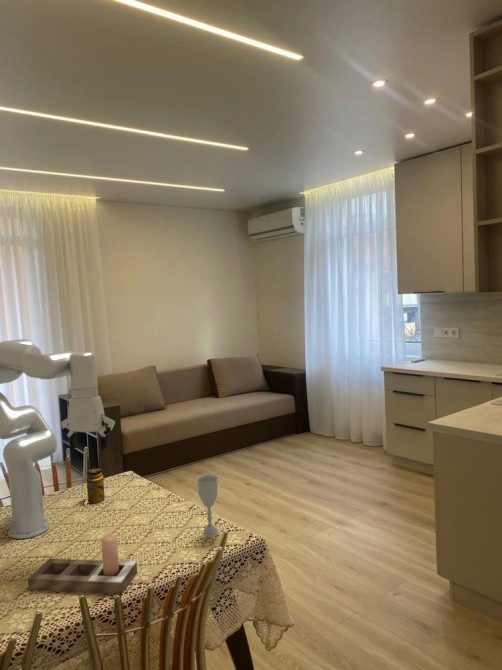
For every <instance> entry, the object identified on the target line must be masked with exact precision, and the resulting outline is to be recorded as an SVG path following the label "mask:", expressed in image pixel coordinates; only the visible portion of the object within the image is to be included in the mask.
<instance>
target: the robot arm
mask: <svg viewBox="0 0 502 670" xmlns="http://www.w3.org/2000/svg"><path fill="white" fill-rule="evenodd" d="M96 360H97V359H96V355H95V353H94V352H91V351H81V352H80V351H73V350H68V351H59V352H53V353H48V354H47V353H44V354H43V353H42V351H41V349H40V348H39V347H38V346H37V345H35V343H34V342H33V341H32V340H29V339H26V338H25V339H24V338H20V339H12V340H3V341H0V385H2V384H7V383H11V382H14V381H15V380H16V381H17V380H18V379H19V378H20V377H21V376H22V375H23V374H25V375H26V376H27V377H29V378H34V379H40V380H54V379H58V378H62V377H63V378H64V377H68V376H70V386H71V388H70V389H68V390H67V394H68V395H71V398H69V401H68V407H67V409H68V410H67V418H65V419H64V420H61V421H60V423H59V425H60V427H61V428H62V430H63V432H64V433H65V434H66V436H67V437H68V439H69V446H70V451H73V450H75V449H77V448H78V447H79V441H78V434H77V433H94V432H97V433H98V434H99V435H100V437H99V443H100V447H99V448H100V450H101V451H104V450H105V449H107V448H108V446H109V438H108V436H109V435H110V433H111V432H112V430H113V428H114V426H115V425H116V421H115V420H113V419H111V418H110V417H107V416H106V415H105V410H104V405H103V401H102V398H101V395H99V389H98V388H99V386H98V375H97V373H98V372H97V361H96ZM106 424H107V428H106ZM11 438H12V440H10V441H8V442H7V443H6V444H5V445H4V448H3V450H2V457H3V461H4V463H5V466H6V467H5V468H6V471H7V475H8V476H7V477H8V483H9V495H10V505H11V506H10V507H11V516H5V517H4V520H3V524H2V525H3V526H9V529H8V532H7V533H8V537H10V538H11V539H16V540H21V539H29V538H33V537H35V536H39V535H42V534H43V533H45V532H46V531H47V530H49V528H50V524H51V523H50V521H49V520H47V519H45V515H44V514H45V512H44V511H45V510H44V503H43V491H42V489H43V488H42V479H41V478H42V477H41V474H40V472H39V470H38V469H37V468H36V467H35V465H34V464H35V463H37V462H39V461H42V460H44V459H47V458H49V457H51V456H52V455H54V454H55V453H56V451H57V449H58V441H57V439H56V436H55V434H54V432H53V431H52V429H51V427H50V426H49V424H48V422H47V421H46V419H45V418H44V417H43V415H42V413H41V412H40V410H39V409H37V408H36V407H35V406H32V405H28V404H27V405H25V404H24V405H21V406H20V405H19V406H16V407H14V406H13V405H11V403H10V402H9V399H8V398H7V397H6V395H4V394H3V393H2V392H0V439H1V440H7V439H8V440H9V439H11ZM13 438H14V439H13Z"/></svg>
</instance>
